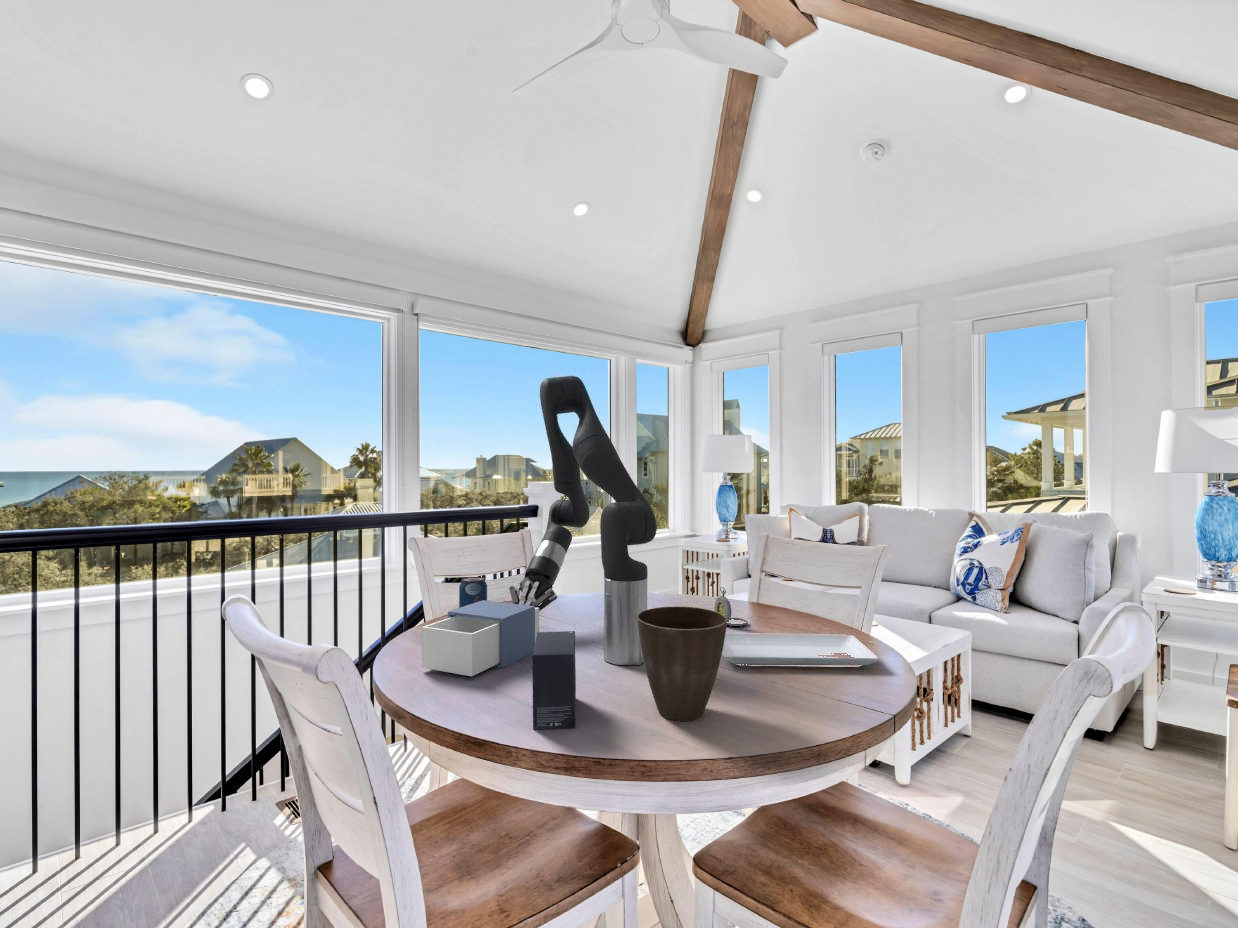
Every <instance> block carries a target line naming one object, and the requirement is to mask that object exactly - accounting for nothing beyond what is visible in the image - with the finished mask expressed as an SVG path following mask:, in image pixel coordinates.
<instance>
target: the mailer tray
mask: <svg viewBox="0 0 1238 928" xmlns="http://www.w3.org/2000/svg"><path fill="white" fill-rule="evenodd" d="M500 624H501V621H495V620H487V619H479V618H472V617H464V616H453V617H450V618H448V617H447V618H445V619H442V620H439V621H435V622H433V623H431V624H427V625H423V626H422V627H421V668H422V669H423V668H424V669H427V670H428V669H429V670H433V671H440V672H445V673H449V674H450V673H451V674H456V675H461V676H468V677H473V676H474V677H475V676H476V675H478V674H479V673H481V672H484V671H486V670H488V669H489V668H493V666H494V665H496V664H498V663H500ZM538 632H540V611H539V608H536V607H535V642H536V637H537V634H538Z"/></svg>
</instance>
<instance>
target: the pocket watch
mask: <svg viewBox="0 0 1238 928" xmlns="http://www.w3.org/2000/svg"><path fill="white" fill-rule="evenodd" d="M722 589H723V590H722ZM719 591H720V592H721V594H722V595H720V596H718V597H717V598H716V599H715V602H714V611H715V612H718V613H721V614H723V615H724V616H726V617H727V622H729V620H731V619H734V620H741V621H744V622H746V623H743V624H731V623H727V625H729V627H732V626H740V627H744V626H743V625H745V626H747V625H748V624H749V623H748V620H747V619H745V618H741V617H740V618H739V617H732V614H733V613H732V607H731V606H732V605H731V603H730V601H729V599H728V598H727V597H726V596H725V594H726V592H727V591H726V588H724V587H723V586H720V587H719ZM746 624H747V625H746Z"/></svg>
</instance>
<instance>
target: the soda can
mask: <svg viewBox="0 0 1238 928" xmlns="http://www.w3.org/2000/svg"><path fill="white" fill-rule="evenodd" d="M458 587H459V588H458V589H459V590H458V594H459V595H458V608H460V607H464V606H467V605H470V604H473V603H476V602H479V601H482V600H485V601H488V584H487V582H486V578H485V577H483V576H468V577H463V578H461V581H460V584H459V586H458Z"/></svg>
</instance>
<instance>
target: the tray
mask: <svg viewBox="0 0 1238 928" xmlns="http://www.w3.org/2000/svg"><path fill="white" fill-rule="evenodd" d="M831 653H832V654H831ZM834 653H847V654H848V655H851V657H854V658H838V657H826V656H824V657H823V656H818V655H834ZM847 654H844V655H847ZM842 655H843V654H842ZM721 658H723V659H724V660H726V661H728V662H730V663H731V664H734V665H735V664H741V665H742V664H744V665H746V664H747V665H865V666H868V665H872V664H874V663H877V662H879V661H880V657H879V656H878V655H876V654H875V653H874V652H873V651H872V650H871V649H870V648H868V647H867V646H866V645H865V644H864V643H862V642H861V641H860V640H859V639H858V638H857V637H856V636H854V635H851V634H845V633H843V634H842V633H841V634H840V633H772V632H771V633H763V632H762V633H761V632H759V633H758V632H756V633H754V632H753V633H752V632H726V634H725V640H724V646H723V651H722V655H721Z"/></svg>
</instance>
